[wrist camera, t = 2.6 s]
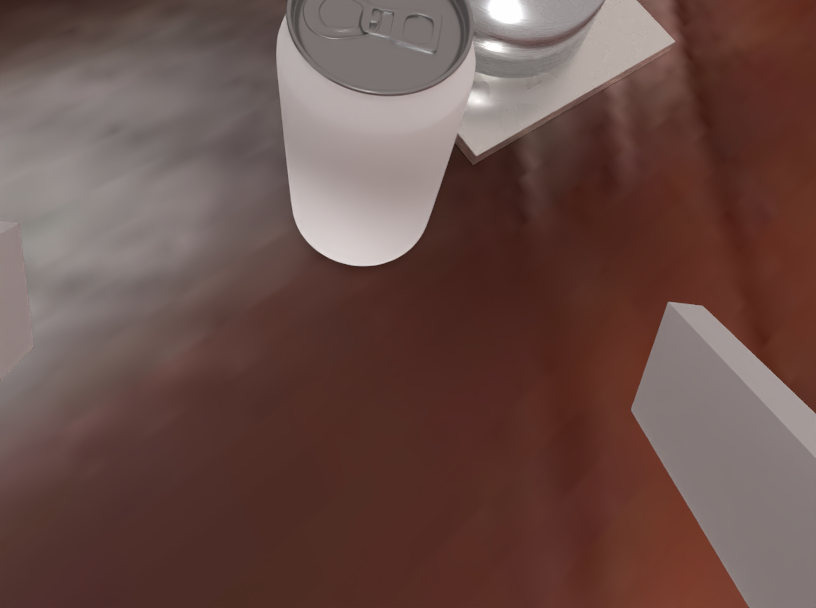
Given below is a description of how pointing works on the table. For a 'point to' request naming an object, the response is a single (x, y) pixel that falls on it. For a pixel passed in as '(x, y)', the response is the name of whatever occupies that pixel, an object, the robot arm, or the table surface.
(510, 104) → the duct collar
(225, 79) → the table surface
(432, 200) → the can
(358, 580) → the table surface
